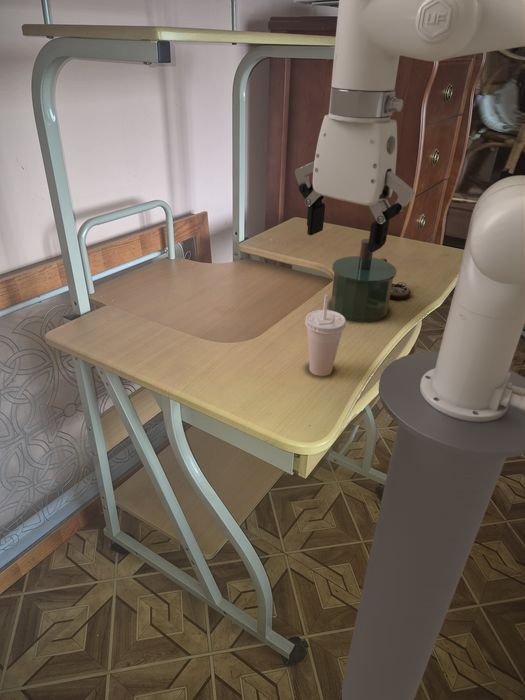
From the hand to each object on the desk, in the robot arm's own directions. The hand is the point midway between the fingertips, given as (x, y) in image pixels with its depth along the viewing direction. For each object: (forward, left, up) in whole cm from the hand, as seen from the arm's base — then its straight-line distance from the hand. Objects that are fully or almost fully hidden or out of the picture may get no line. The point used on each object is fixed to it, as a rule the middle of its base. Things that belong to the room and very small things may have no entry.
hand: (344, 240), depth 70 cm
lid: (+6, -25, -14) cm, 30 cm away
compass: (+3, -37, -23) cm, 44 cm away
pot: (+6, -25, -23) cm, 35 cm away
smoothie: (+2, -1, -23) cm, 23 cm away
